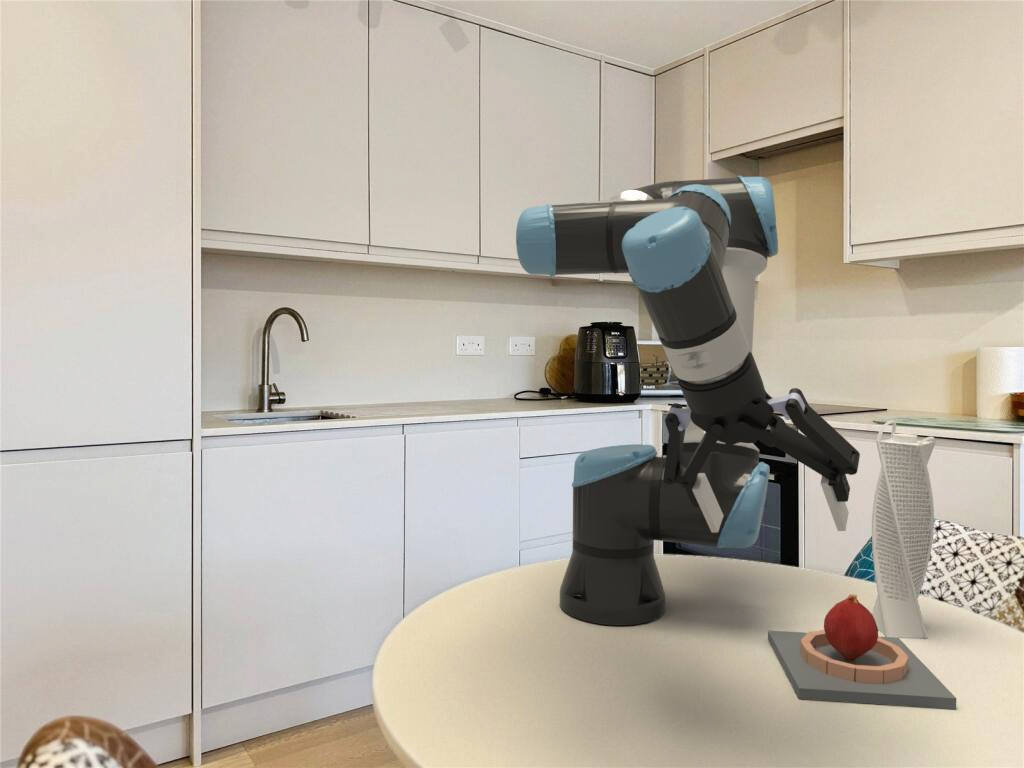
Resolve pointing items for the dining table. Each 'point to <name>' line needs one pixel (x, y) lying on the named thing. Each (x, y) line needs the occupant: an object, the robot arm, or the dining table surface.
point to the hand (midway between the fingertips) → (777, 523)
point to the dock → (858, 672)
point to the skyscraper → (902, 532)
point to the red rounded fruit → (851, 628)
